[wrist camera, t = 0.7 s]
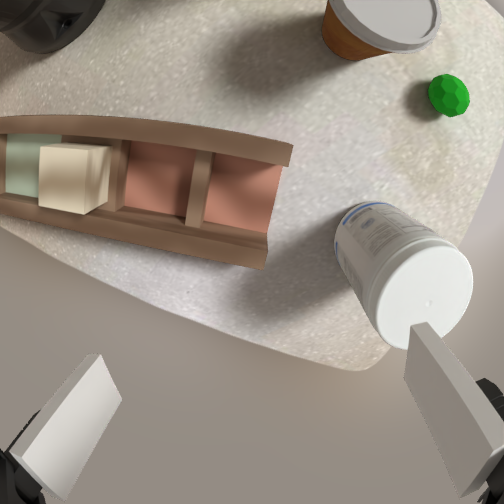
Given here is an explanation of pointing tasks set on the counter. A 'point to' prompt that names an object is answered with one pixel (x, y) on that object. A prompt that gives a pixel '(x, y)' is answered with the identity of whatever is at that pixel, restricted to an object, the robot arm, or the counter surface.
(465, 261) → the supplement tub
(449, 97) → the polyhedron
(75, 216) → the box
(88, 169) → the birch block
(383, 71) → the counter surface
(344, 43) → the disposable coffee cup
